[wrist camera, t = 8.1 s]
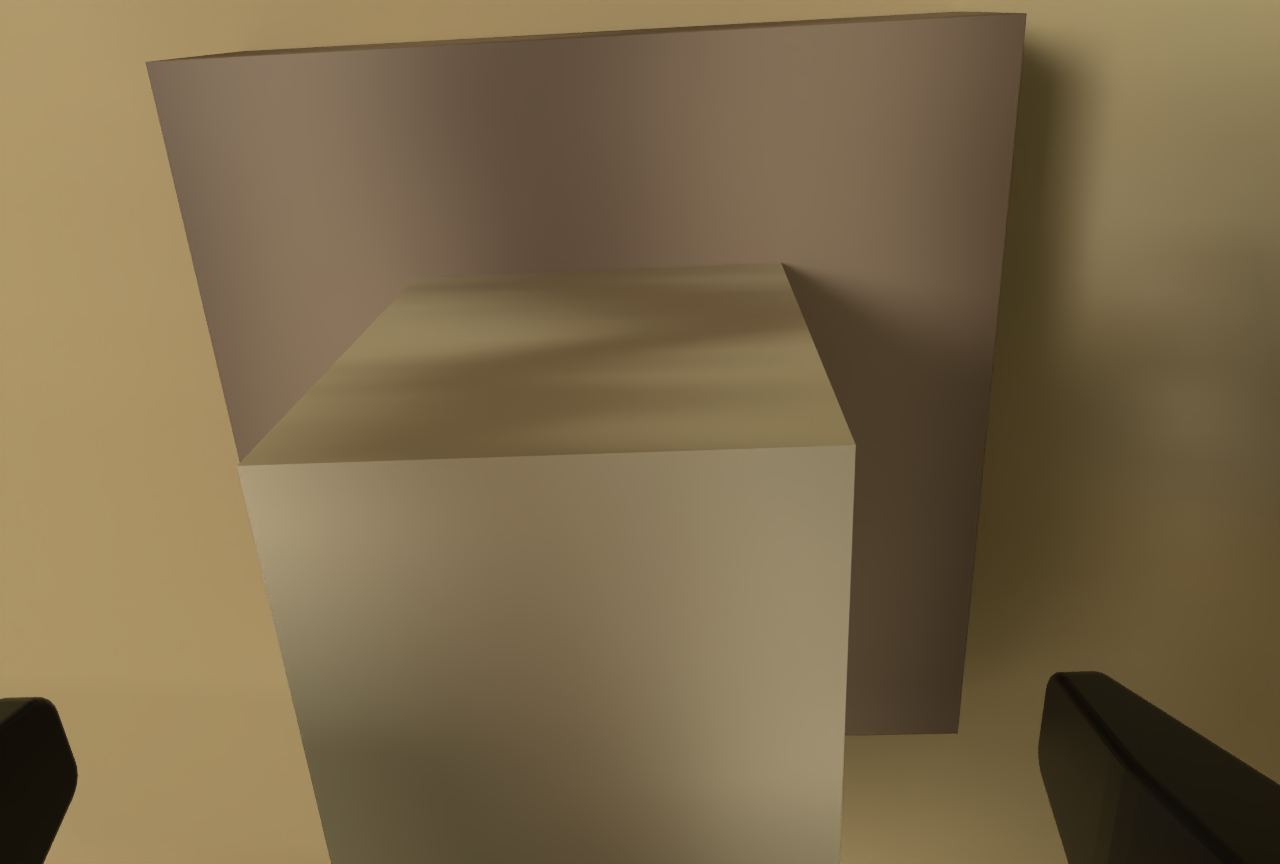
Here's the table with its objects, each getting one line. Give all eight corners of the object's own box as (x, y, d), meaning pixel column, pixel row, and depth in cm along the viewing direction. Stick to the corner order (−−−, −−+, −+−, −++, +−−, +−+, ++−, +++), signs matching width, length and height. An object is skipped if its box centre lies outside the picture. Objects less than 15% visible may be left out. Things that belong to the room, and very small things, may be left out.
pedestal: (961, 11, 15) (1026, 13, 12) (917, 628, 19) (957, 732, 16) (240, 51, 15) (144, 62, 13) (358, 642, 20) (306, 745, 17)
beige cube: (780, 262, 13) (855, 444, 8) (778, 580, 15) (837, 905, 10) (415, 278, 14) (237, 466, 8) (459, 588, 16) (341, 910, 10)
